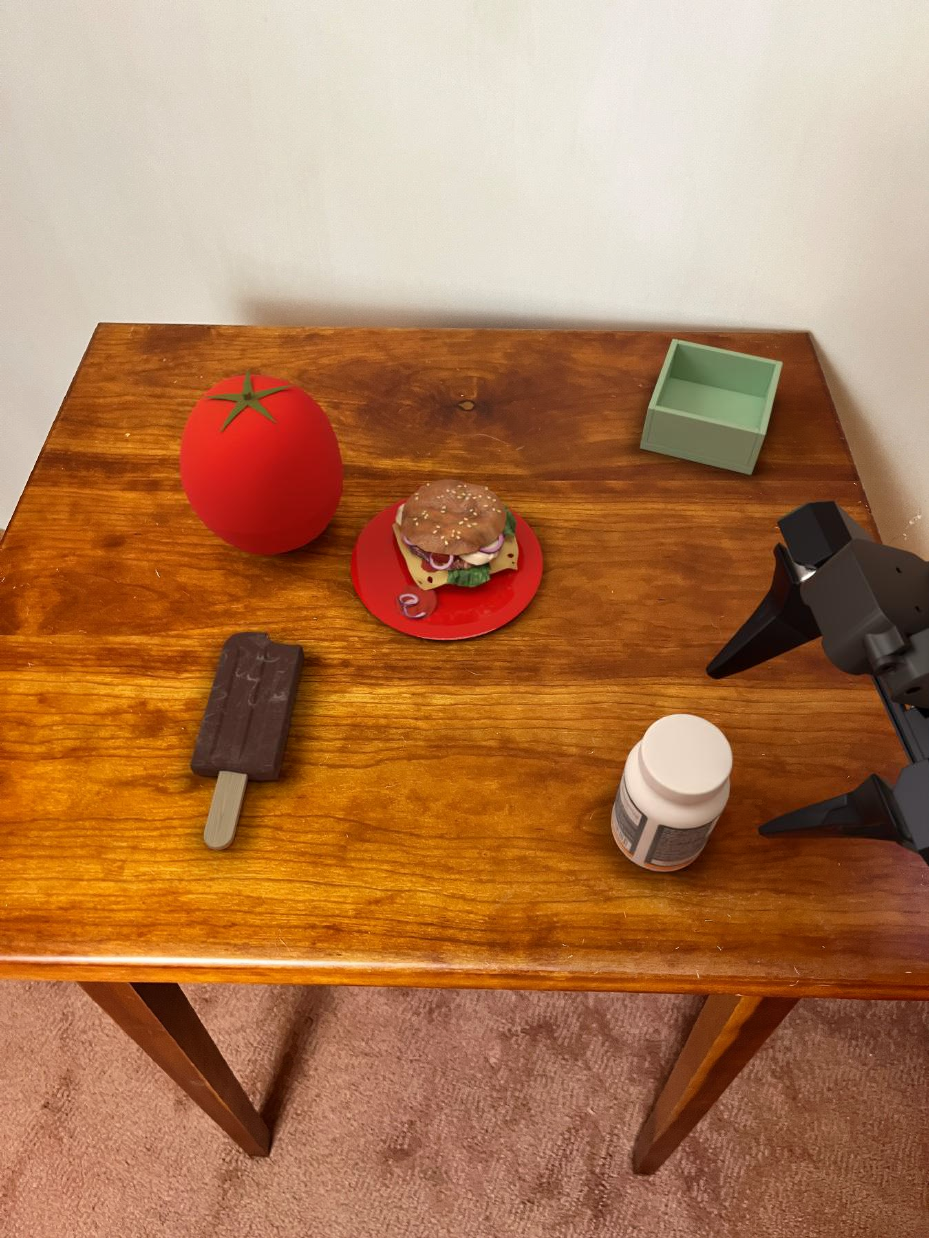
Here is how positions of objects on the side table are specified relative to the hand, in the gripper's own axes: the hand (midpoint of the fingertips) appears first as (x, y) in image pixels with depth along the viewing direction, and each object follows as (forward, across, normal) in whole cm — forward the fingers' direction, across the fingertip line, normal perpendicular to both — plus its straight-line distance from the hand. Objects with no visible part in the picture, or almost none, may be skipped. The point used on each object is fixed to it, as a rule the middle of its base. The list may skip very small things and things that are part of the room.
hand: (734, 749), depth 47 cm
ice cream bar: (+26, -9, -12) cm, 30 cm away
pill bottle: (+9, 0, +5) cm, 10 cm away
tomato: (+25, -27, -10) cm, 38 cm away
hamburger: (+16, -22, -2) cm, 27 cm away
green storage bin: (0, -34, +14) cm, 37 cm away
